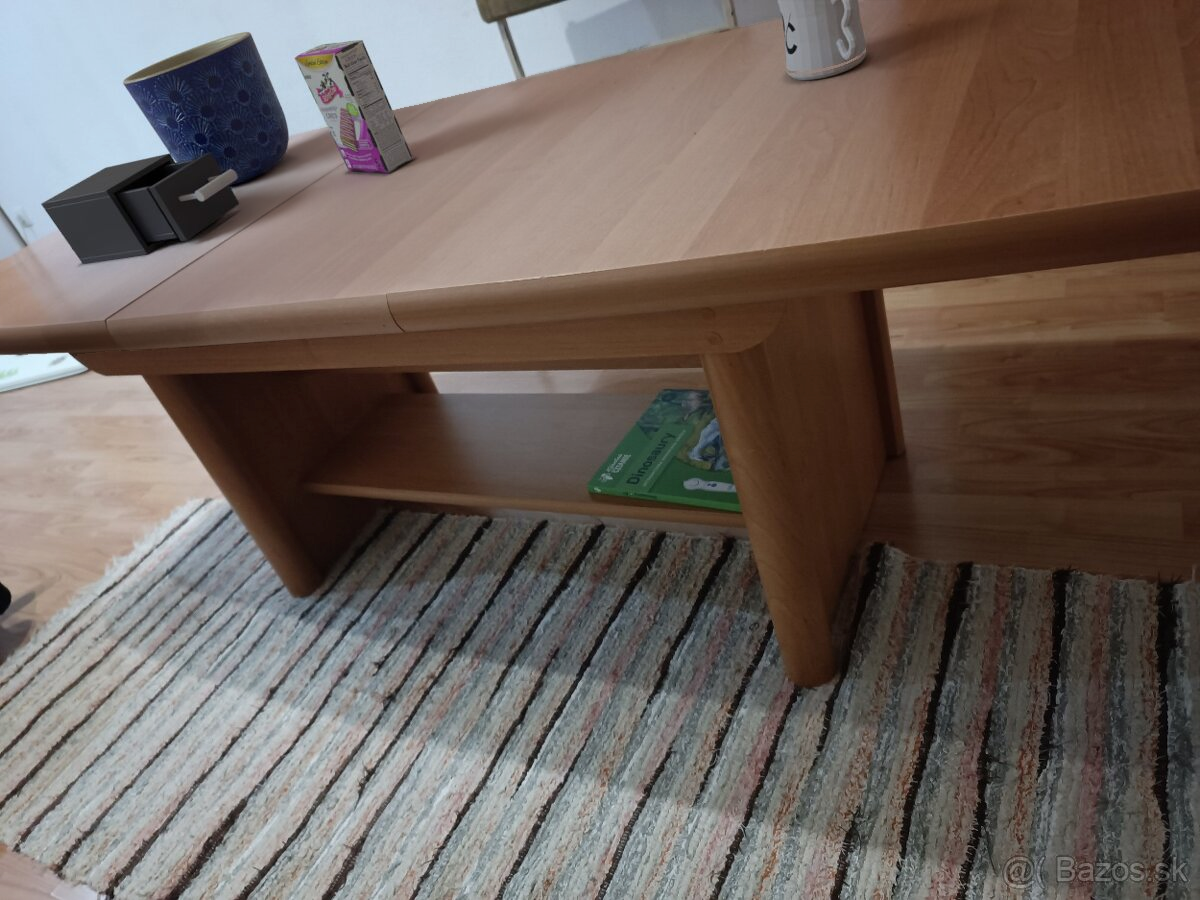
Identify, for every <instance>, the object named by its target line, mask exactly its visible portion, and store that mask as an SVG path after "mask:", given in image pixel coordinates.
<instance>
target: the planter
mask: <svg viewBox="0 0 1200 900" xmlns="http://www.w3.org/2000/svg"><path fill="white" fill-rule="evenodd" d="M122 83H123V86H124V87H125V89H126V91H127V92H128V93H129V95H130V97H131V98H132V100H134V101H133V102H135V104H136V105H137V107H138V108H139V110H140V111H141V113H142V114H143V115H144V117H145V118H146V120H147V121H148V123H149V124H150V126H151V127H152V129H153V131H154V132H155V133H156V135H157V137H158V138H159V139H160V141H161V142H162V144H163V145H164V147H165V148H166V150H167V151H168V152H169V153H170V154H171V156H172V158H173V159H174V161H175V163H176V162H181V161H186V160H190V159H195V158H196V159H197V158H199V157H200V156H202V155H203V154H205V153H210V152H211V153H212V155H213V157H214V159H215V161H216V162H217V164H218V166H219V168H220V170H221V171H222V173H225V172H226V171H228V170H230V169H232V170H234V171H235V172H236V174H237V179H236V180H235V181H233V182H232V183H230V184H229V186H230V187H231V186H233V185H238V184H240V183H241V184H242V183H244V182H246V181H247V182H248V181H249V180H251V179H254V178H256V177H259V176H261V175H262V174H264V173H266V172H268V171H270V170H271V169H273V168H274V167H275V166H277V165H278V164H279V163H280V162H281V161H282V159H283V158H284V156H285V155H286V152H287V150H288V146H289V140H290V136H289V134H290V133H289V128H288V123H287V119H286V115H285V112H284V110H283V107H282V105H281V103H280V100H279V98H278V95H277V92H276V90H275V88H274V86H273V84H272V81H271V78H270V76H269V74H268V71H267V69H266V66H265V64H264V62H263V60H262V57H261V54H260V52H259V49H258V47H257V45H256V43H255V40H254V37H253V36H252V33H251V32H249V31H243V32H237V33H234V34H231V35H227V36H224V37H221V38H218V39H215V40H211V41H209V42H205V43H203V44H200V45H197V46H195V47H192V48H190V49H187V50H184V51H181V52H179V53H176V54H174V55H171V56H169V57H167V58H164V59H162V60H160V61H157V62H155V63H152V64H150V65H149V66H146V67H144V68H142V69H140V70H138V71H136V72H134V73H132V74H131V75H129V76H127V77H126V78H124V79H123V81H122ZM169 153H168V154H169Z"/></svg>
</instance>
